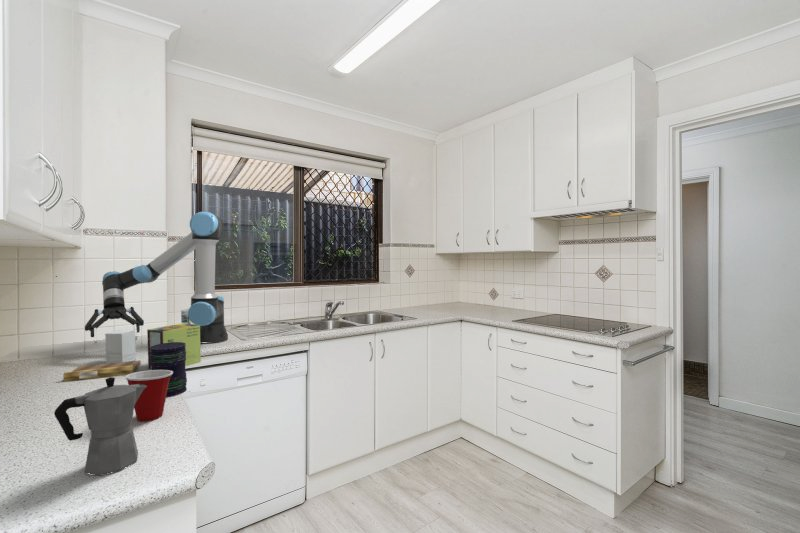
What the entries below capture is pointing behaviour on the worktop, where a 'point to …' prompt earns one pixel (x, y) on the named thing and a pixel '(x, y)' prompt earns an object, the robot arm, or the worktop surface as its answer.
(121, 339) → the supplement box
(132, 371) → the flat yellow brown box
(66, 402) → the coffeepot
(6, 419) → the worktop surface
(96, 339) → the robot arm
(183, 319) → the syrup box
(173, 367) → the storage jar
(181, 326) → the protein box
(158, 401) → the plastic cup
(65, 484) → the worktop surface
